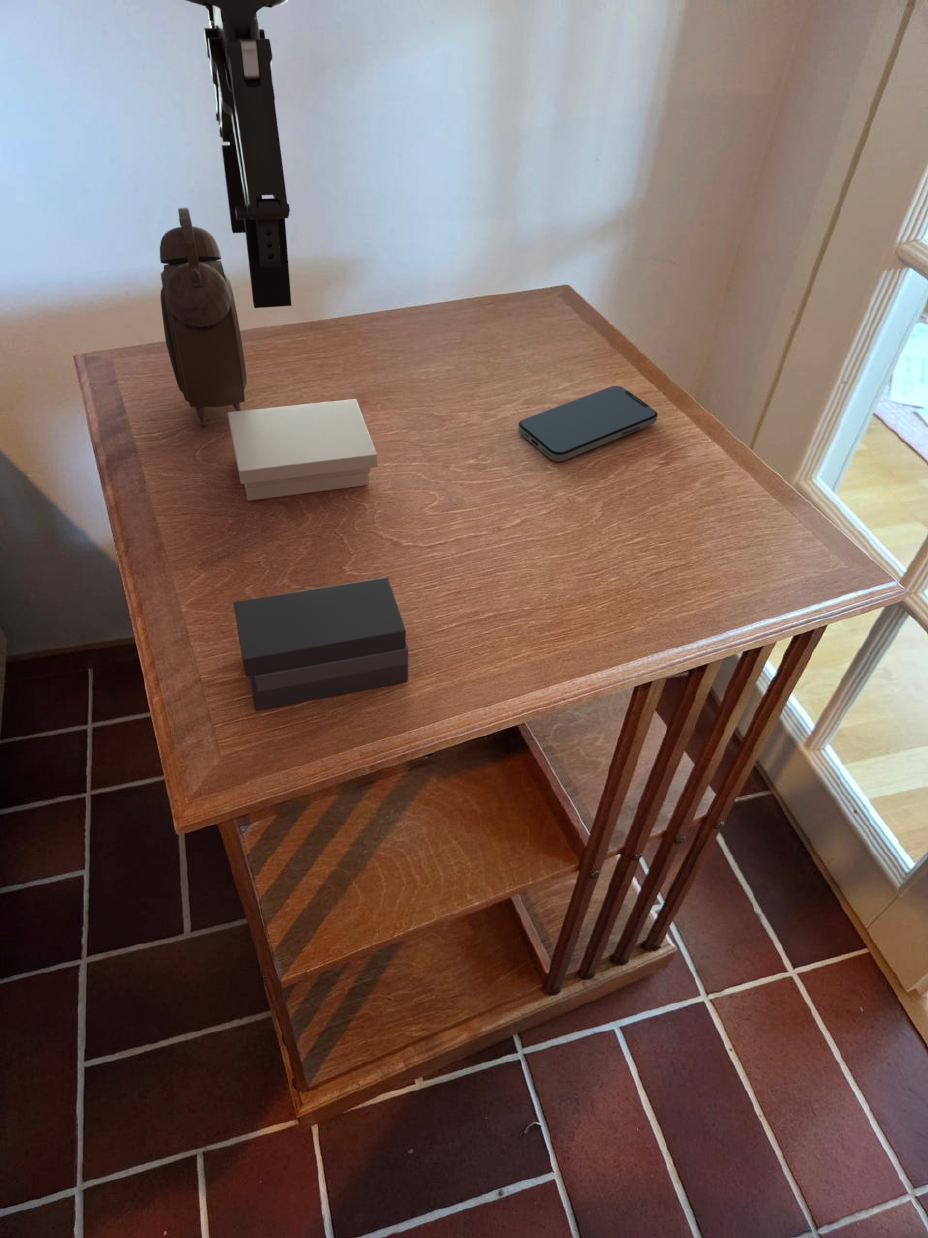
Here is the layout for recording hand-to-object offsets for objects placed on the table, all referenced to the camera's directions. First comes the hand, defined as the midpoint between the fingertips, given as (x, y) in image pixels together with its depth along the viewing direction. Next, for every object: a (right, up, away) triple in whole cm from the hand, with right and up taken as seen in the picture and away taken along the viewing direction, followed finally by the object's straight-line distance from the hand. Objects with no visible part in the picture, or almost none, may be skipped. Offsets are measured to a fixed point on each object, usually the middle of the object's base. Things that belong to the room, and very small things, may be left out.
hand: (259, 265), depth 66 cm
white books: (0, -13, +18) cm, 22 cm away
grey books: (+5, -32, +1) cm, 32 cm away
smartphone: (+30, -7, +27) cm, 41 cm away
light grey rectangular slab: (0, -11, +16) cm, 19 cm away
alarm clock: (-11, -5, +26) cm, 28 cm away
